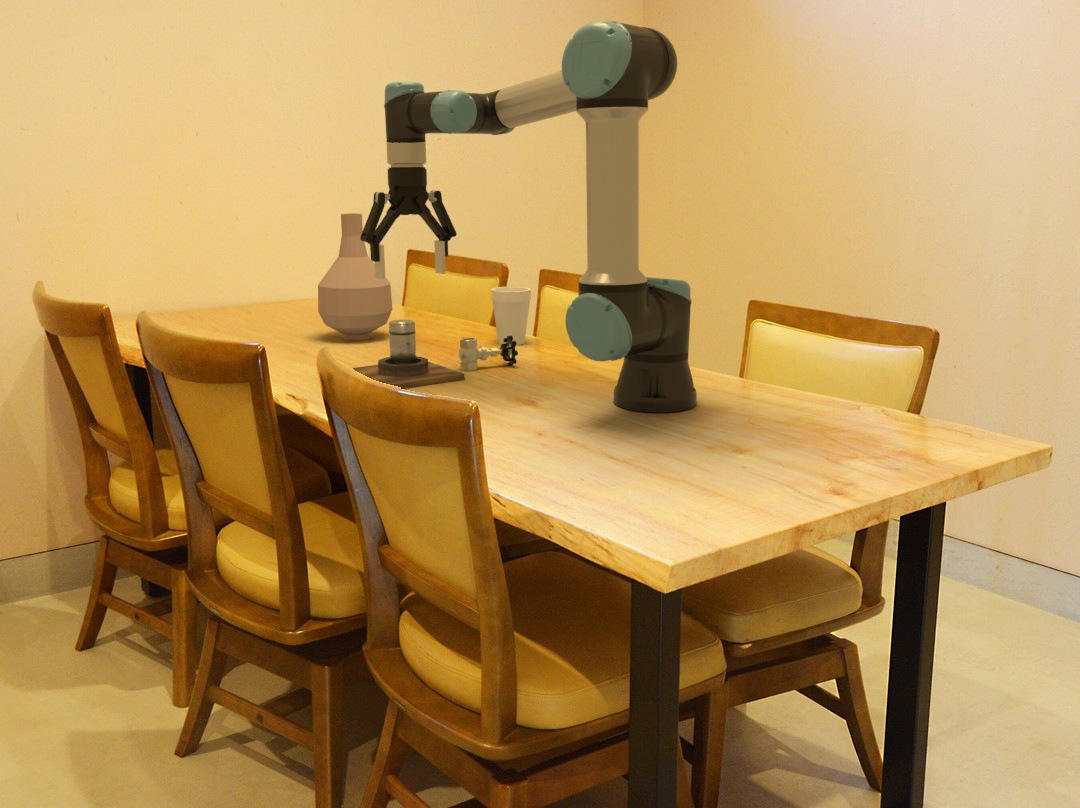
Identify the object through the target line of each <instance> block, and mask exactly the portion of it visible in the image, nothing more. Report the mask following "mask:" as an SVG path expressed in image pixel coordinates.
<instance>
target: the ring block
mask: <svg viewBox="0 0 1080 808" xmlns="http://www.w3.org/2000/svg"><path fill="white" fill-rule="evenodd" d="M352 368H353V369H354V370H355V371H357V372H359V373H361V374H363V375H365V376H367V377H369V378H371V379H373V380H376V381H379V382H382V383H386V384H390V385H394V386H398V387H401V388H404V389H406V388H405V387H411V388H416V387H423V386H429V385H430V386H431V385H437V384H444V383H449V382H457V381H462V380H463V381H464V380H465V379H466V377H465V376H466V375H465V373H463V372H461V371H457V370H454V369H452V368H449V367H446V366H442V365H440V364H437V363H434V362H431V361H429V359H428V358H427V357H424V356H423V357H422V356H417V355H416V363H414V364H401V365H397V364H390V356H387V357H383V358H381V359H378V360H377V364H371V365H366V366H359V367H352Z"/></svg>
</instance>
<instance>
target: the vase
mask: <svg viewBox="0 0 1080 808" xmlns="http://www.w3.org/2000/svg"><path fill="white" fill-rule="evenodd" d="M340 221H341V223H340V224H341V226H340V227H341V239H340V245H339V249H338V251H339V252H338V256H337V257H336V259H335V261H334V262H333V263H332V265H331V266H330V268H329V269H328V270H327V272H326V274H324V276H323V278H321V280H320V282H318V284H317V305H318V306H317V312H318V315H319V316H320V318H321V319H322V322H323V324H324V325H325V326H327V327H329V328H331V329H332V330H335V331H337V332H339V333H341V334H342V338H343V339H344V340H346V341H362V340H363V341H364V340H368V339H370V338H371V333H373V332H374V331H376V330H378V329H379V328H381V327H383V326H384V325H386V324H388V321H389V319H390V316H391V314H392V311H393V300H392V287H391V282H390V281H389V280H388V278H387V277H386V276H385V279H379V278H375V262H374V261H372V260H371V257H369V254H368V252H367V247H366V242H364V241H361V239H360V237H361V234H362V232H363V229H364V227H363V214H362V213H355V212H354V213H350V212H349V213H348V212H347V213H340Z"/></svg>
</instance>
